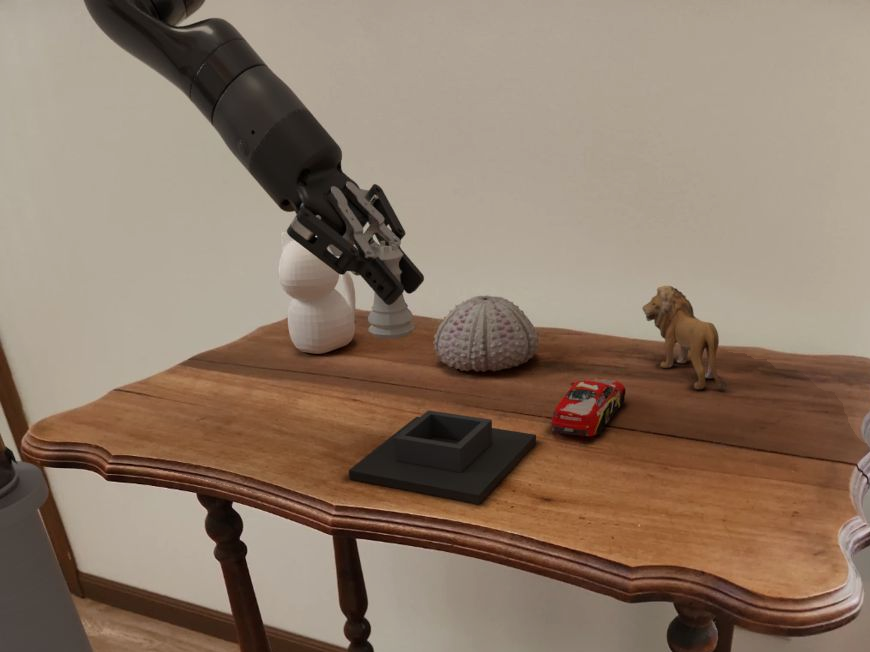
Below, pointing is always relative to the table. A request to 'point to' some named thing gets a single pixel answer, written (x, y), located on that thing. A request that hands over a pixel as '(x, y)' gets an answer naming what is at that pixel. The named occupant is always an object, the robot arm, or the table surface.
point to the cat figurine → (315, 300)
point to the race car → (588, 407)
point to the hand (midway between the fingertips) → (407, 291)
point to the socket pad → (445, 457)
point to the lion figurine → (684, 332)
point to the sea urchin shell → (485, 335)
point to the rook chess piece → (395, 316)
